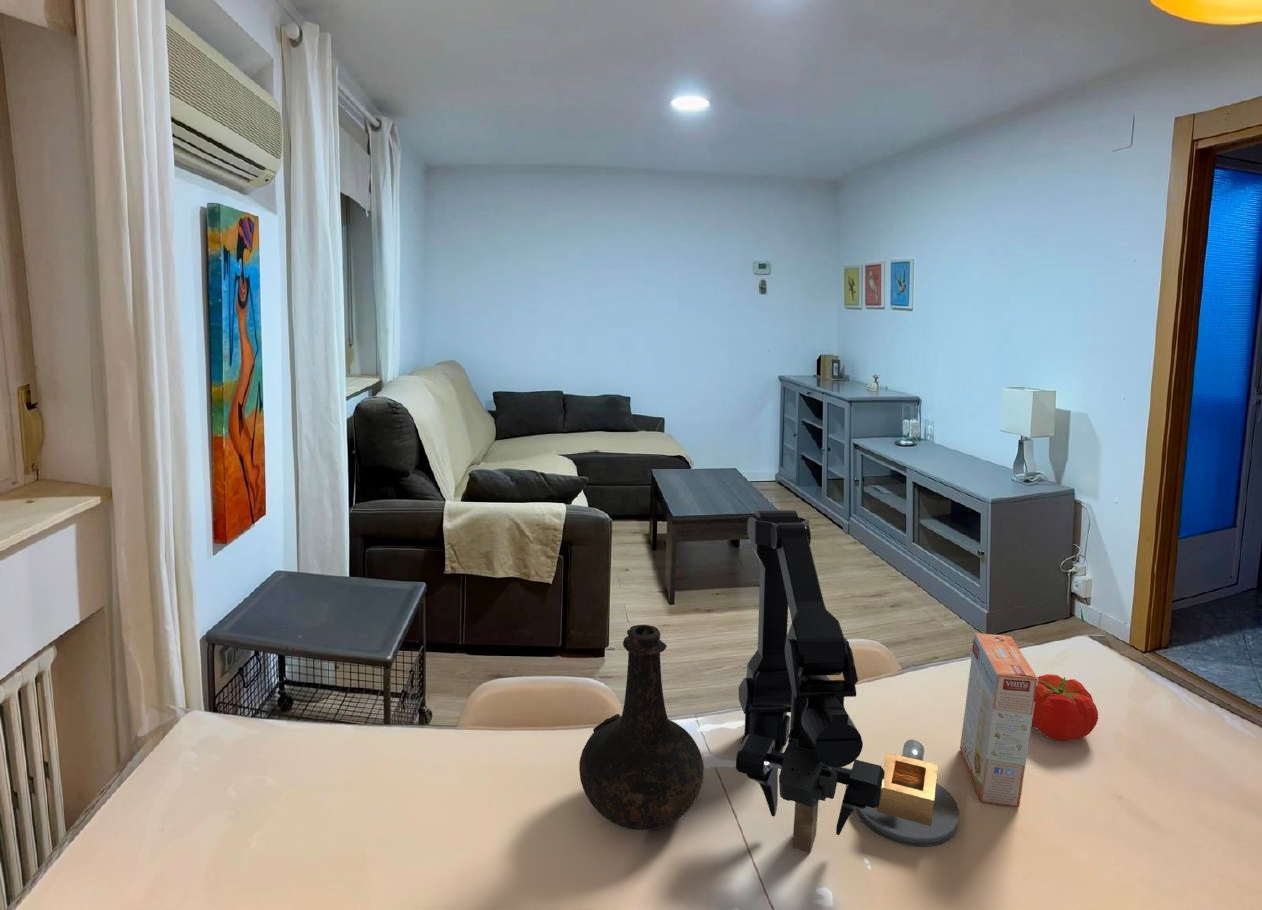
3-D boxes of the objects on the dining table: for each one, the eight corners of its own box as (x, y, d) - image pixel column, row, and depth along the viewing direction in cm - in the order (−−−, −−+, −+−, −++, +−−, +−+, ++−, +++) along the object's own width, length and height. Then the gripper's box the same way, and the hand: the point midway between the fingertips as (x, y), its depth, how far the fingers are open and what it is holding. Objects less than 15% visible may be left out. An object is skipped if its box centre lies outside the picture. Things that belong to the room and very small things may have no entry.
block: (792, 847, 105) (795, 795, 103) (798, 829, 108) (802, 778, 106) (810, 853, 104) (813, 800, 102) (816, 834, 107) (819, 783, 105)
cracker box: (1022, 809, 113) (1040, 678, 108) (978, 803, 114) (994, 673, 109) (998, 753, 126) (1013, 634, 121) (958, 748, 127) (972, 630, 123)
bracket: (847, 828, 108) (850, 790, 107) (865, 759, 124) (868, 726, 122) (955, 858, 103) (960, 819, 101) (960, 783, 118) (964, 748, 117)
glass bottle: (640, 755, 125) (642, 591, 118) (728, 808, 112) (735, 629, 106) (553, 805, 112) (551, 626, 106) (641, 872, 100) (644, 673, 94)
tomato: (1019, 702, 141) (1025, 659, 140) (1098, 725, 134) (1105, 680, 132) (1005, 734, 131) (1011, 688, 129) (1089, 760, 124) (1097, 712, 122)
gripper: (725, 735, 98) (721, 841, 102) (878, 773, 91) (868, 886, 94) (749, 693, 108) (745, 791, 112) (889, 725, 101) (879, 829, 104)
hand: (805, 823), depth 105 cm, fingers open, 8 cm apart
